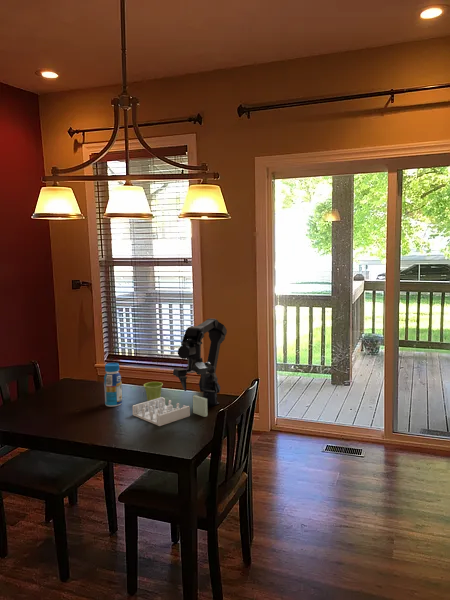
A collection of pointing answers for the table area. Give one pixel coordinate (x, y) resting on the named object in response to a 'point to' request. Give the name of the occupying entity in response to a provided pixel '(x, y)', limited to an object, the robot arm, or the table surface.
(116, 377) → the beverage bottle
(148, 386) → the plant pot
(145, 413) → the dish rack
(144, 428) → the table surface
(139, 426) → the table surface
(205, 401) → the green square slab
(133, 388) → the table surface
